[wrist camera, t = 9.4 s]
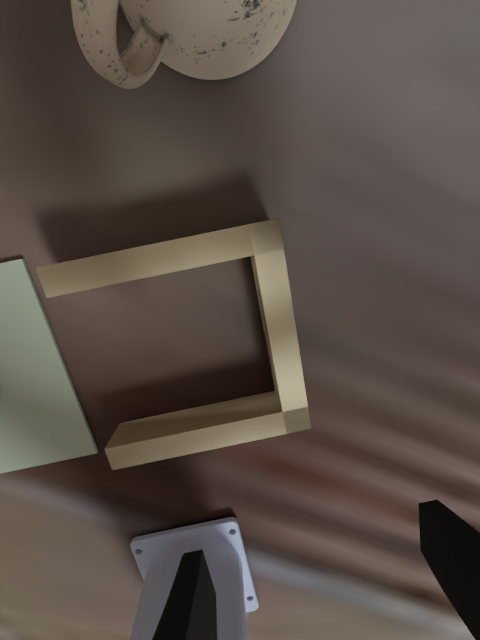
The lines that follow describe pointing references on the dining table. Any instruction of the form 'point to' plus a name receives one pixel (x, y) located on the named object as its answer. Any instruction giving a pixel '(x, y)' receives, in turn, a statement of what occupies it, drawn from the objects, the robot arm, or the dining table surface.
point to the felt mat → (34, 382)
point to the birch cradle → (279, 328)
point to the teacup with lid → (179, 36)
